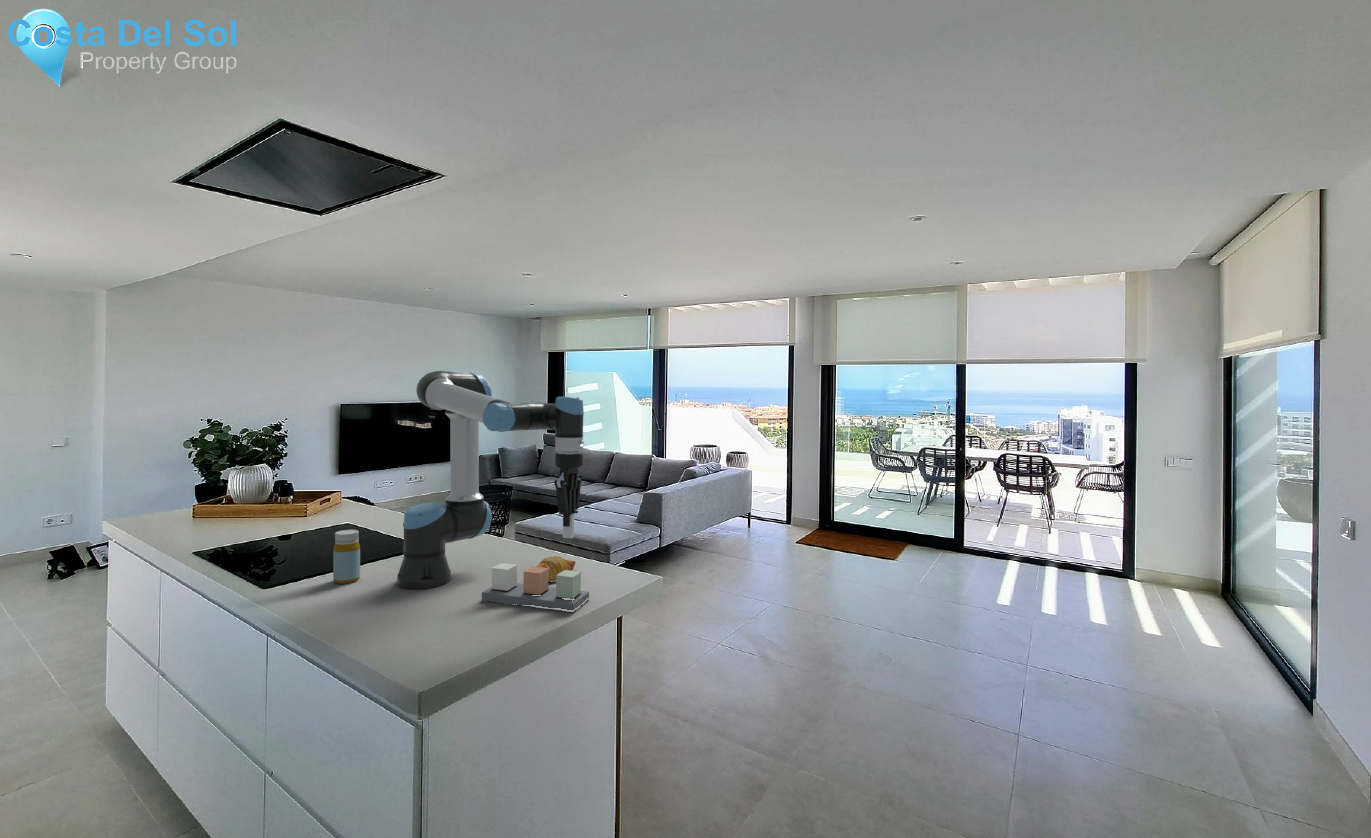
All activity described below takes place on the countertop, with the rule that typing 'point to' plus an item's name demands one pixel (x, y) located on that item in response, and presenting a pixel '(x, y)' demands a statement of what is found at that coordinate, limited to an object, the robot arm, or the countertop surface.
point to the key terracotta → (535, 580)
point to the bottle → (346, 557)
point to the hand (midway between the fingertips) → (568, 537)
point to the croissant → (556, 566)
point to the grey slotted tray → (533, 598)
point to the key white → (504, 576)
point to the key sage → (568, 584)
